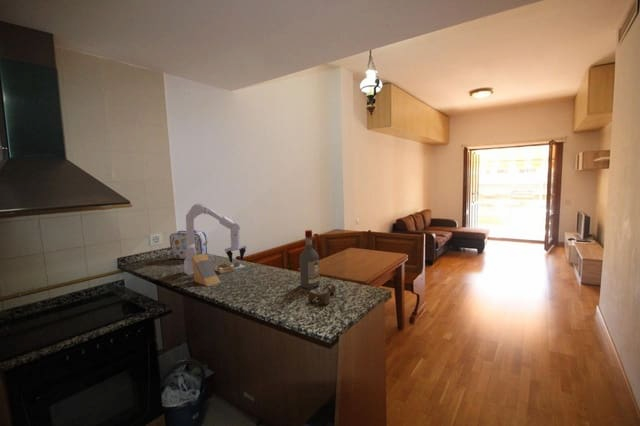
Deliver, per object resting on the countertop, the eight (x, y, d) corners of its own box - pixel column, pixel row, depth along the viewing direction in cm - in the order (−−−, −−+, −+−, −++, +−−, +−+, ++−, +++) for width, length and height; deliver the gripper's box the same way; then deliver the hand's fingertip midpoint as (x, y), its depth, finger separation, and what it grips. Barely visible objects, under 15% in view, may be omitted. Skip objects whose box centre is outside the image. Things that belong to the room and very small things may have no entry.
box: (215, 270, 199) (215, 265, 199) (227, 267, 204) (226, 263, 204) (222, 273, 192) (221, 268, 191) (234, 271, 197) (233, 266, 197)
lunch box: (211, 257, 234) (209, 228, 232) (203, 260, 224) (201, 230, 222) (178, 256, 239) (175, 228, 236) (169, 260, 229) (167, 230, 226)
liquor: (298, 286, 167) (296, 231, 163) (308, 281, 174) (307, 228, 170) (311, 289, 161) (309, 232, 158) (321, 284, 168) (320, 230, 165)
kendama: (340, 295, 154) (322, 309, 137) (323, 292, 159) (303, 306, 141) (339, 283, 154) (321, 296, 136) (322, 281, 158) (302, 293, 141)
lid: (227, 267, 208) (227, 262, 208) (238, 264, 213) (238, 260, 213) (234, 270, 201) (234, 265, 200) (245, 267, 206) (245, 262, 205)
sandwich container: (207, 286, 170) (205, 260, 168) (193, 281, 180) (191, 256, 178) (221, 282, 176) (219, 256, 175) (207, 277, 186) (205, 253, 185)
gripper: (227, 243, 197) (229, 264, 199) (248, 239, 207) (249, 259, 208) (222, 241, 202) (224, 262, 204) (242, 238, 212) (244, 257, 213)
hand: (236, 260), depth 206 cm, fingers open, 7 cm apart
